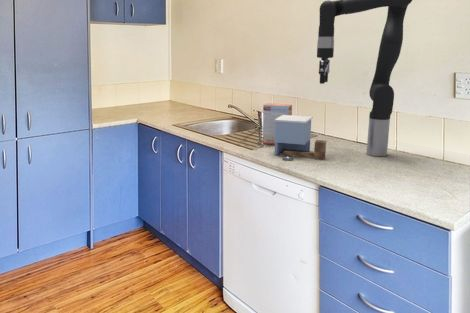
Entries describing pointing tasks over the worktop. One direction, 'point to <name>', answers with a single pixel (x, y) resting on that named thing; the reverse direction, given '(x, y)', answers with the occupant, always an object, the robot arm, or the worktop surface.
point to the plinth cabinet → (292, 133)
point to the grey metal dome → (287, 158)
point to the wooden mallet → (318, 152)
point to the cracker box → (268, 120)
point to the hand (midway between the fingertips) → (323, 82)
